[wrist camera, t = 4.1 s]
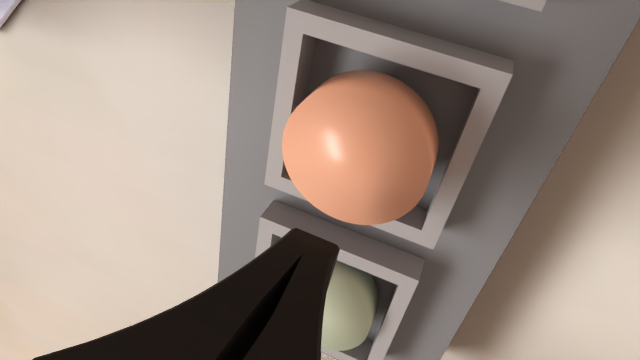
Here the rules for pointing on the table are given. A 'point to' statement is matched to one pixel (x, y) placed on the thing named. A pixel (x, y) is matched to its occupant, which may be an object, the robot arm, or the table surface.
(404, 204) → the terracotta button
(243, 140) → the button panel
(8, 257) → the table surface
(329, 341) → the sage button
